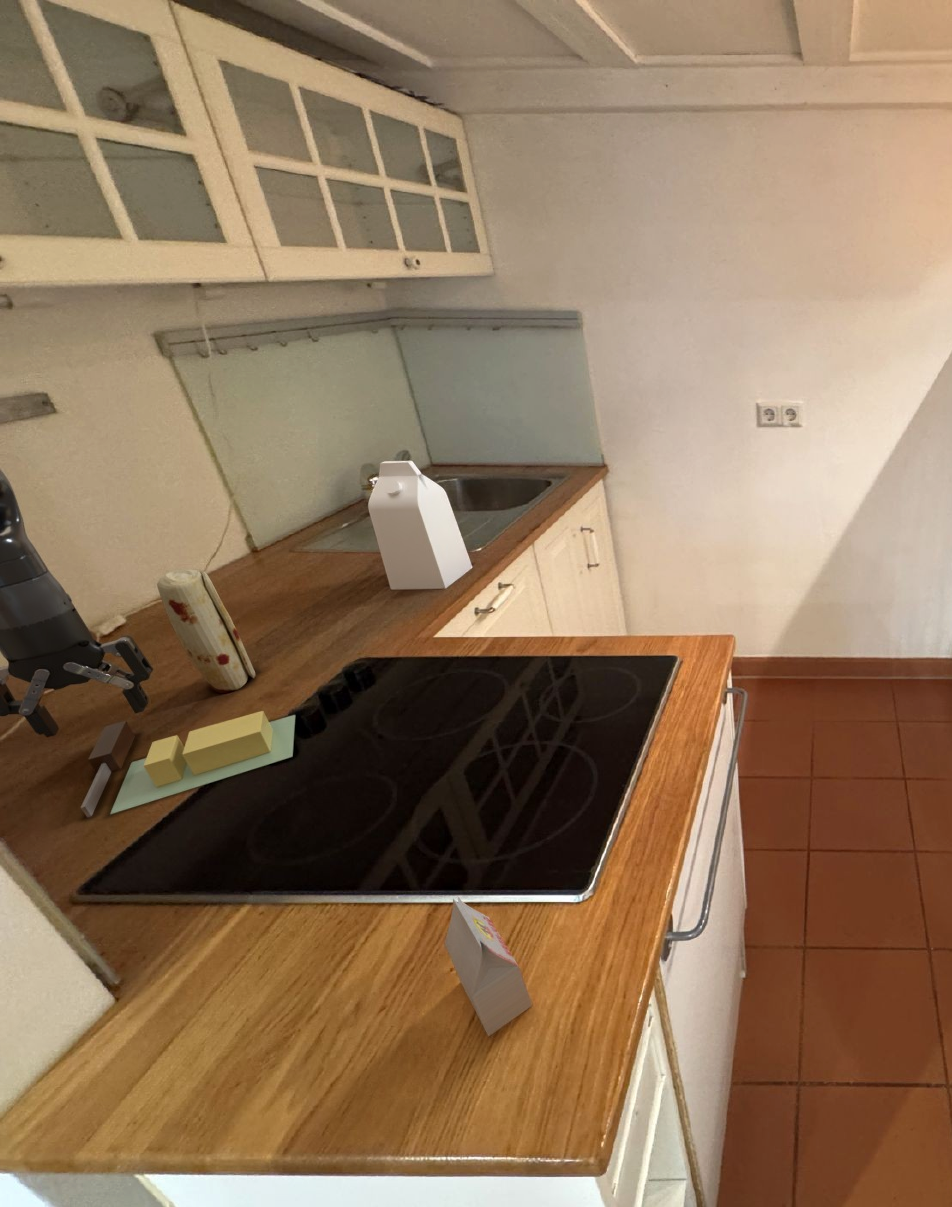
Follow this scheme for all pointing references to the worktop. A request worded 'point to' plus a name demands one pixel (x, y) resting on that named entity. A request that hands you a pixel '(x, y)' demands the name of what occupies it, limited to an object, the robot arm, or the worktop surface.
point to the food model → (205, 629)
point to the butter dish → (143, 789)
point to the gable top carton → (485, 968)
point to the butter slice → (165, 761)
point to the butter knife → (107, 760)
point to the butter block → (228, 742)
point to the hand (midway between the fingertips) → (98, 721)
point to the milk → (416, 529)
